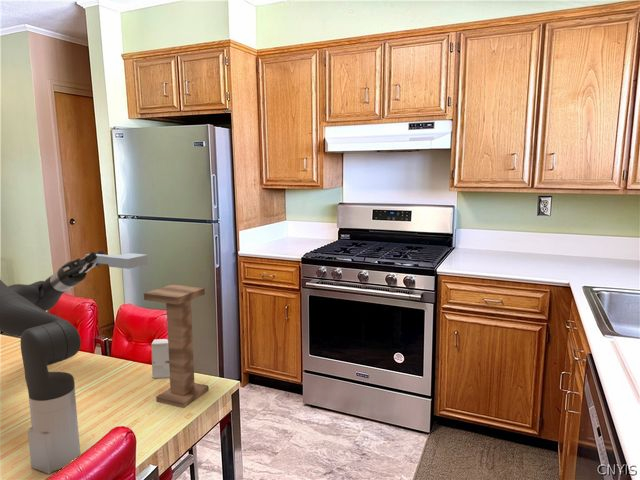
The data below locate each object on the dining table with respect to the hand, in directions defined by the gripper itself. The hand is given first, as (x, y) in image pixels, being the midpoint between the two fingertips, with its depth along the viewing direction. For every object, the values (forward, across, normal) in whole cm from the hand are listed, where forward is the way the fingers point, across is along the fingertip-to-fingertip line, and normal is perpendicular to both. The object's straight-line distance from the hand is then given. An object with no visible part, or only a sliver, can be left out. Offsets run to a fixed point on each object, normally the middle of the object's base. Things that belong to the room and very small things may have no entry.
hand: (98, 254), depth 143 cm
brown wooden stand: (+4, -1, -51) cm, 51 cm away
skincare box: (-9, -10, -44) cm, 46 cm away
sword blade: (+4, 0, -5) cm, 7 cm away
